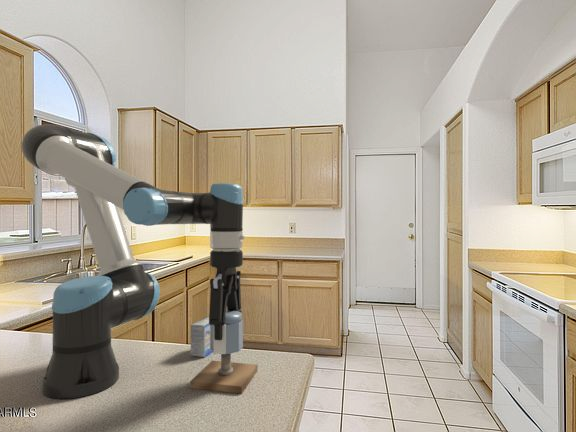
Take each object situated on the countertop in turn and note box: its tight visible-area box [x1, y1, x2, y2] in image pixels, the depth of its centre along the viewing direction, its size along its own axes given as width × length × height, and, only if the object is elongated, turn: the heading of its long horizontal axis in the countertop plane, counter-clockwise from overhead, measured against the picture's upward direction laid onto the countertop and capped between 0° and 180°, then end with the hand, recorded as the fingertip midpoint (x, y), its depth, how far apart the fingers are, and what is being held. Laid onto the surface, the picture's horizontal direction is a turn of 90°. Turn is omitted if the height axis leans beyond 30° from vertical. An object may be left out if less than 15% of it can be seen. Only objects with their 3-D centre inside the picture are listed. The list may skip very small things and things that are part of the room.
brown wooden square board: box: [189, 353, 259, 394], centre depth 86 cm, size 12×12×6 cm
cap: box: [210, 309, 244, 354], centre depth 86 cm, size 7×7×8 cm
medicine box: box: [190, 317, 214, 358], centre depth 103 cm, size 8×4×9 cm, turn 161°
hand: (226, 347), depth 86 cm, fingers closed on cap, 7 cm apart
